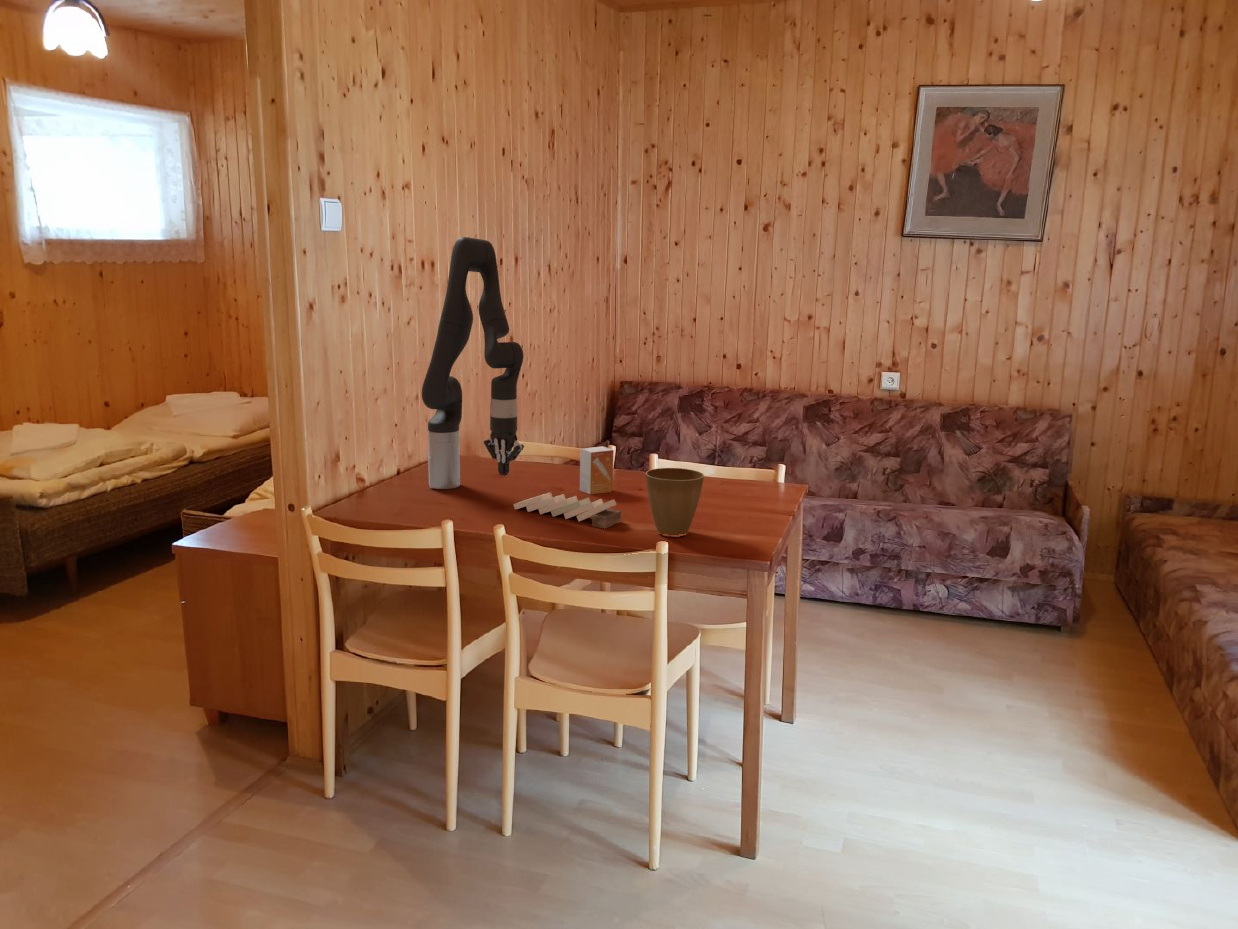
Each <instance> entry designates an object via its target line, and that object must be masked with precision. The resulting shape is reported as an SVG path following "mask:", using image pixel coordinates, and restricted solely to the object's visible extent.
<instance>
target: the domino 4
mask: <svg viewBox="0 0 1238 929" xmlns="http://www.w3.org/2000/svg"><path fill="white" fill-rule="evenodd" d="M591 502H592V501H591V499H590V497H585V498H584V499H580V500H578V501H577V502H575V503H572V504H570V505H567V506H564V507H561V508H558V509H555V510H552V511H550V513H551V516H552V517H557V516H559V515H562V514H564V513H567V512H569V511H572V510H574V509H577V508H579V507H582V506H584V505H586V504H589V503H591Z"/></svg>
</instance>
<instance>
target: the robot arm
mask: <svg viewBox="0 0 1238 929" xmlns="http://www.w3.org/2000/svg"><path fill="white" fill-rule="evenodd" d="M496 256H497V255H496V251H495V248H494V246H493V244H492V242H490V241H489V240H485V239H482V238H475V237H467V236H461V237H458V238H457V240H456V241H455V242H454V244H453V246H452V252H451V256H450V263H449V264H450V265H449V272H448V280H447V286H446V292H445V297H444V302H443V307H442V310H441V315H440V317H439V323H438V327H437V334H436V337H435V338H436V339H435V341H434V347H433V350H432V354H431V359H430V362H429V366H428V368H427V372H426V374H425V376H424V377H425V378H424V379H423V383H422V387H421V399H422V402H423V404H424V405H425V407H426V408H428V409H430V410H436V411H435V414H434V415H433V416H432V417H431V418H430V419H429V420H428V422H427V439H428V441H427V443H428V444H427V446H428V454H427V456H428V457H427V458H428V459H427V460H428V462H427V467H428V485H429V489H437V490H451V489H456V488H458V487H460V486H461V460H460V458H461V457H460V456H461V455H460V424H461V422H462V415H463V389H462V385H461V383H460V382H459V380H458V379H457V378H456V377H454V376H451V372H452V369H453V366H454V364H455V363H456V361H457V360H458V358H459V357H460V355H461V353H462V352H463V350H464V349H465V347H466V345H467V344H468V341H470V340H469V339H470V336H471V332H472V327H473V323H474V314H473V310H472V306H471V304H470V301H469V300H470V299H469V298H468V294H467V288H466V287H467V278H468V274H469V272H471V273H472V272H473V273H479V274H480V276H481V279H482V283H483V287H482V288H483V289H482V293H481V296H480V299H479V303H478V315H479V318H480V322H481V327H482V329H483V334H484V336H483V337H484V354H483V355H484V356H483V357H484V360H485V363H486V365H487V366H489V367H490V368H491V369H504V370H505V371H504V372H503V373H502V374H500V375H498V376H494V377H493V378H492V379H491V380H490V382H491V383H490V397H491V399H490V403H489V404H490V405H489V408H490V409H489V413H490V414H489V415H490V416H489V420H490V421H489V422H490V423H489V429H490V431H491V433H490V437H489V438H488V439H486V440H483V444H484V446H485V448H486V449H487V451H488V452H489V455H490V456H491V458H492V460H496V461H497V472H498V474H499V476H503V477H505V476H507V475H508V474H509V473H510V463H511V462H513V461H515V460H516V459H517V458H518V456H519V455H520V453H521V452H523V449H524V448H525V445H524V444H521V443H520V442H519V441H518V436H517V431H518V401H517V396H518V395H517V394H518V392H517V386H518V380H519V376H520V372H521V369H522V365H523V362H524V351H523V347H522V346H521V345H520V343H518V342H516V341H503V342H502V341H501V342H499V340H498V339H502V338H504V337H506V336H507V335H508V334H509V333H510V326H509V322H508V318H507V315H506V312H505V309H504V304H503V300H502V295H501V289H500V288H501V287H500V279H499V278H500V277H499V271H498V262H497V257H496Z"/></svg>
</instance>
